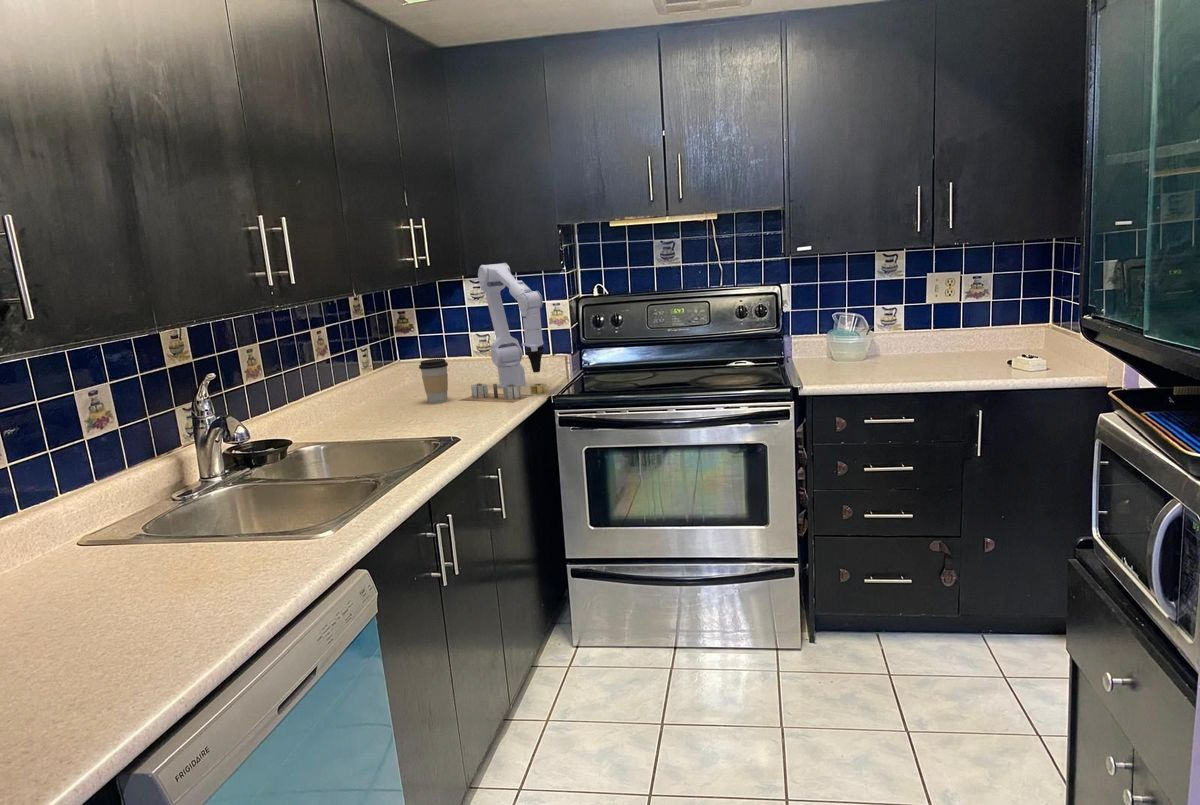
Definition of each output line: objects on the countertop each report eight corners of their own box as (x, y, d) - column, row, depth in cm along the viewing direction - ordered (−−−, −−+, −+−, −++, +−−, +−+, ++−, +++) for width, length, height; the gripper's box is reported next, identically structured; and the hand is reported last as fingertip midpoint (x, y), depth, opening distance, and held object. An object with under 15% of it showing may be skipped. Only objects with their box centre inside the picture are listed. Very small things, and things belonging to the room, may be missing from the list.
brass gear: (536, 394, 273) (535, 383, 273) (549, 395, 271) (548, 383, 270) (528, 398, 269) (527, 386, 268) (541, 398, 266) (540, 386, 266)
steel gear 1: (478, 395, 273) (477, 383, 272) (491, 395, 270) (490, 383, 269) (469, 398, 268) (467, 386, 267) (481, 398, 266) (480, 386, 265)
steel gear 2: (506, 397, 266) (505, 384, 265) (522, 396, 265) (520, 384, 264) (502, 400, 261) (501, 387, 260) (518, 399, 260) (517, 387, 259)
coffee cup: (455, 401, 272) (450, 357, 269) (448, 407, 263) (442, 361, 260) (428, 403, 273) (423, 359, 270) (419, 409, 264) (414, 363, 261)
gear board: (481, 397, 277) (479, 380, 276) (534, 399, 266) (533, 381, 265) (458, 404, 267) (456, 386, 265) (513, 407, 256) (511, 388, 255)
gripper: (521, 328, 272) (524, 368, 275) (520, 332, 258) (524, 374, 261) (542, 326, 273) (545, 366, 275) (542, 330, 259) (546, 372, 261)
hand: (536, 370), depth 268 cm, fingers open, 7 cm apart
